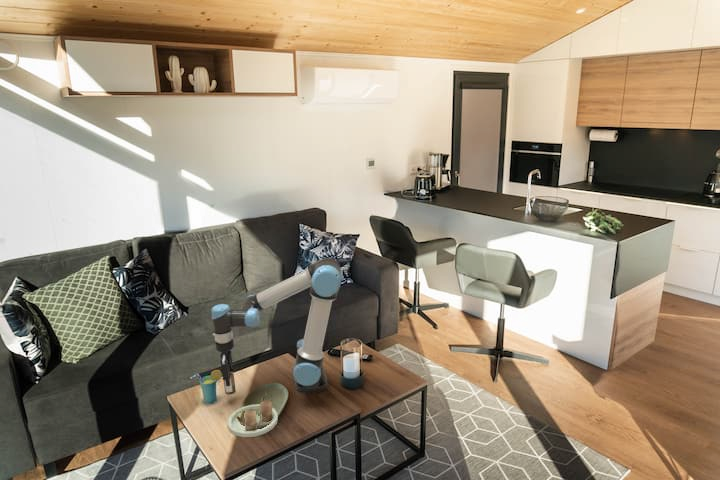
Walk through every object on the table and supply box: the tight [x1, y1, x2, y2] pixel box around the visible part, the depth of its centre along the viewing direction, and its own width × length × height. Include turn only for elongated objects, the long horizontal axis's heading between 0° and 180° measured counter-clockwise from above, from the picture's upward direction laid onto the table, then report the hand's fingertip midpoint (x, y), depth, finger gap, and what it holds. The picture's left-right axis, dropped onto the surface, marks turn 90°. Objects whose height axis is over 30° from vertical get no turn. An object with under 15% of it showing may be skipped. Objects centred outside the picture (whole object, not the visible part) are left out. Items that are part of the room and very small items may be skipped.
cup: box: [189, 369, 223, 405], centre depth 219 cm, size 14×8×15 cm, turn 128°
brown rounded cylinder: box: [259, 400, 273, 422], centre depth 204 cm, size 5×5×8 cm
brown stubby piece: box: [223, 372, 237, 396], centre depth 216 cm, size 5×5×8 cm
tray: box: [227, 403, 279, 438], centre depth 204 cm, size 20×20×2 cm
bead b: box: [244, 410, 257, 431], centre depth 198 cm, size 5×5×8 cm
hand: (230, 388), depth 217 cm, fingers closed on brown stubby piece, 4 cm apart
